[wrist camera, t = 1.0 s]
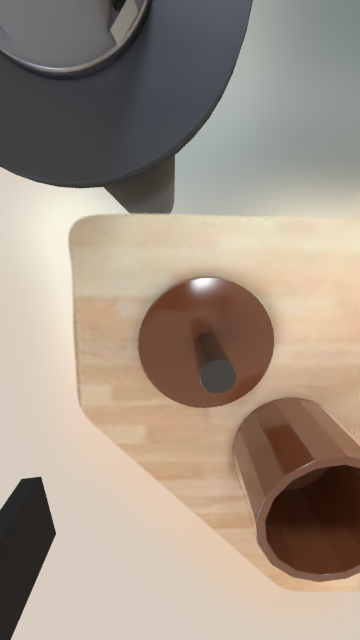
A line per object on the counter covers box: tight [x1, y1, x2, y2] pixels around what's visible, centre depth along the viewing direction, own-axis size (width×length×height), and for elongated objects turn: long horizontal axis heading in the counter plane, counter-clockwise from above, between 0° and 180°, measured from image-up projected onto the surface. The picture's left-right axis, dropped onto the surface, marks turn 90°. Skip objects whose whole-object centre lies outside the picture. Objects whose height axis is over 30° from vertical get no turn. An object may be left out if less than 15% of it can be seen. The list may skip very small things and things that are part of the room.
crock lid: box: [138, 277, 274, 408], centre depth 25 cm, size 14×14×9 cm
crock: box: [233, 398, 360, 582], centre depth 28 cm, size 13×13×10 cm
